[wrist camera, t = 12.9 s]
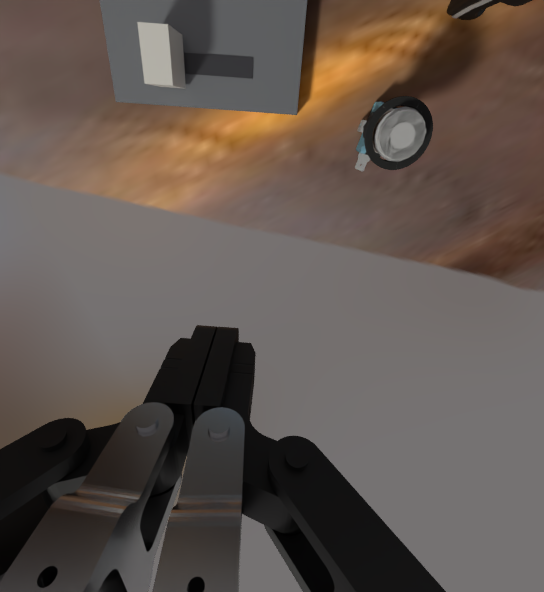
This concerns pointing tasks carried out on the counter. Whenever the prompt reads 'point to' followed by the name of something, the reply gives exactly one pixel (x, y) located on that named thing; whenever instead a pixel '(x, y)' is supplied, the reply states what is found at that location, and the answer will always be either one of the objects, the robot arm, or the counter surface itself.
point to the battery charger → (476, 7)
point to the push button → (395, 133)
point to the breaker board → (207, 52)
